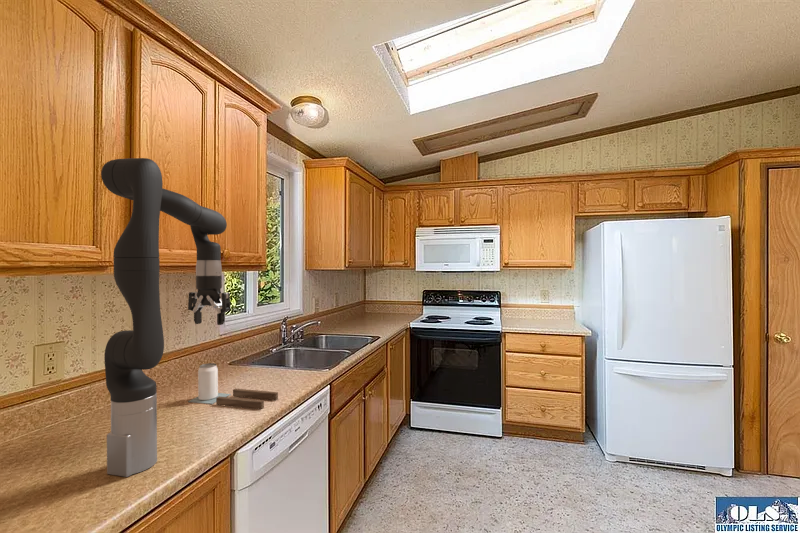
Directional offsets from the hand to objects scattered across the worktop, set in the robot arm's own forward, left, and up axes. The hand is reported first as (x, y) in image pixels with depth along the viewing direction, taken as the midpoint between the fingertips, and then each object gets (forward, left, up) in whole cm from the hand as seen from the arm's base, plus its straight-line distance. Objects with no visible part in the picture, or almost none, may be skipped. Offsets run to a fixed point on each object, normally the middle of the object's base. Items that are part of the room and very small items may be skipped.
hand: (209, 324), depth 122 cm
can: (+14, +12, -30) cm, 35 cm away
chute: (+14, -4, -30) cm, 33 cm away
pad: (+14, +12, -30) cm, 35 cm away
